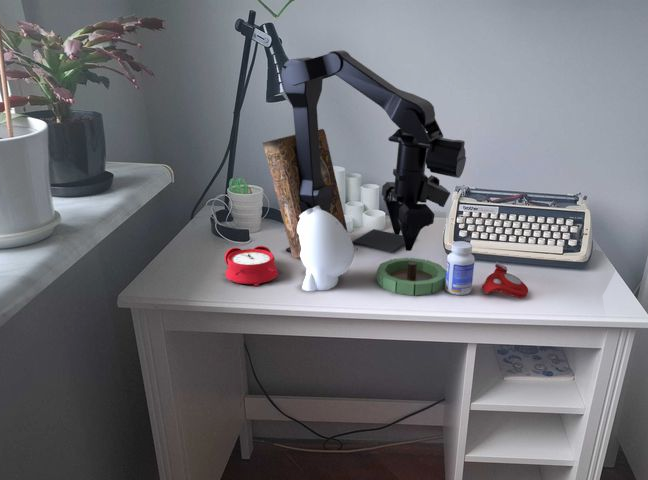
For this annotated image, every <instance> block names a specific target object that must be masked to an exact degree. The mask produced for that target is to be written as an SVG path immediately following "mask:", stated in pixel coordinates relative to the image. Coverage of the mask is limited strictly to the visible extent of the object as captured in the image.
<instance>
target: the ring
mask: <svg viewBox="0 0 648 480" xmlns="http://www.w3.org/2000/svg"><path fill="white" fill-rule="evenodd" d="M408 262H416V263H417V268H416V270H420V271H424V272H426V273H429V274H430V275H432V276H433V278H432V279H430V280H424V281H407V280H400V279H397V278H395V277H392V276H390V274H391V273H393V272H395V271H398V270H405V269H408ZM445 281H446V269H445V268H444V267H443V266H442V265H441V264H439V263H437V262H434V261H431V260H428V259H423V258H415V257H403V258H402V257H400V258H393V259H389V260H387V261H386V260H385V261H384V262H381V263H380V264H379V265H378V267H377V269H376V282H377V283H378V285H379V287H381V288H382V289H384V290H386V291H389V292H391V293H394V294H397V295H407V296H425V295H432V294H435V293H437V292H439V291H442V290H444V289H445Z"/></svg>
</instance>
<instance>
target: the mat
mask: <svg viewBox="0 0 648 480" xmlns="http://www.w3.org/2000/svg"><path fill="white" fill-rule="evenodd" d="M352 243H353V246H359V247H364V248H368V249H373V250H376V251H377V250H378V251H381V252H387V253H391V254H394V253H396V252H397V251H399V250H400V249H402V248H403V247H405V245H404V241H403V237H402V234H395V233H394V232H389V231H385V230H379V229H375V228H374V229H372V230H369V231H368V232H366V233H363V235H361V236H359V237H357V238H355V239H354V240H352Z"/></svg>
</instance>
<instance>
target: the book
mask: <svg viewBox="0 0 648 480" xmlns="http://www.w3.org/2000/svg"><path fill="white" fill-rule="evenodd" d="M318 133H319V148H320V163H321V176H322V179H323V181H324V182H325V184H326V185H332V199H333V203H332V204H331V208H330V210H329V211H328V213H330V214H331V215H333V216H334V217H335V218H336V219H337V220H338V221H339V222H340V223H341V224H342V225H343V227H344V229H345V230H346V231H347V232H348V226H347V222H346V218H345V213H344V209H343V203H342V200H341V195H340V191H339V187H338V182H337V178H336V174H335V169H334V165H333V161H332V160H333V159H332V156H331V151H330V147H329V143H328V139H327V135H326V131H325V129H324V128H319V129H318ZM262 146H263V150H264V153H265V157H266V158H265V159H266V162H267V166H268V168H269V174H270V176H271V180H272V181H271V182H272V184H273V188H274V190H275V196H276V199H277V203H278V206H279V211H280V214H281V215H280V216H281V218H282V222H283V227H284V230H285V233H286V238H287V241H288V245H289V247H290V249H291V252H290V253H291V256H292V257H293V258H295V259H297V260H302V259H301V257H300V252H301V244H300V239H299V234H298V233H297V226H298V222H299V220H300V217H299V216H300V215H301V210H300V206H299V203H300V202H301V201H300V197H299V182H300V179H299V174H298V162H297V150H296V138H295V134H292V135H288V136H283V137H280V138H276V139H272V140H268V141H264V142H262ZM348 233H349V232H348Z"/></svg>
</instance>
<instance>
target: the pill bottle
mask: <svg viewBox="0 0 648 480" xmlns="http://www.w3.org/2000/svg"><path fill="white" fill-rule="evenodd" d="M450 250H451V251H450V252H449V254H448V255H447V258H446V269H445V270H446V281H445V286H444V289H445V291H446V292H447V293H449V294H451V295H455V296H456V295H457V296H464V295H468V294H470V293H472V290H473V279H474V268H475V261H476V258H475V256H474V255H473V254H472V251H473V244H472V243H471V242H469V241H463V240H458V241H453V242H452V243H451V249H450Z"/></svg>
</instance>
